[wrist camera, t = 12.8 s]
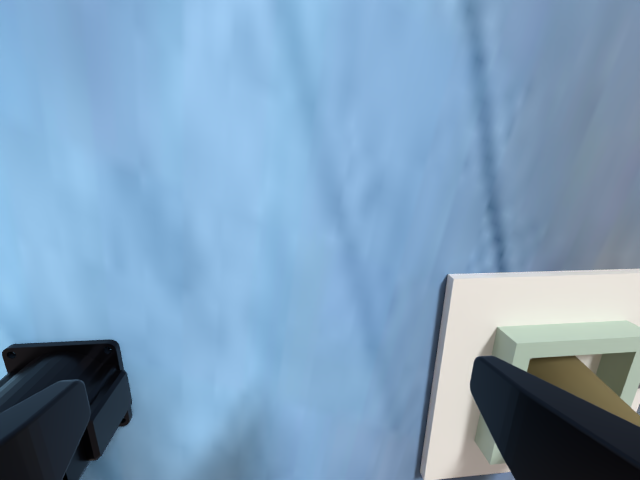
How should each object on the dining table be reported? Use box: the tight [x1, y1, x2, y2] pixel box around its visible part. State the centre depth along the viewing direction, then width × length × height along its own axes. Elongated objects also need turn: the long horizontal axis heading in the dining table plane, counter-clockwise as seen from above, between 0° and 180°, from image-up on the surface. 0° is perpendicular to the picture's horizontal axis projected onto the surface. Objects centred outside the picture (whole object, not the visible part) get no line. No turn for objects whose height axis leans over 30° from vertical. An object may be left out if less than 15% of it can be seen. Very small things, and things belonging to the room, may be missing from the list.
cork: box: [527, 355, 640, 427], centre depth 19 cm, size 6×6×11 cm
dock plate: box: [420, 269, 640, 480], centre depth 24 cm, size 18×18×3 cm
